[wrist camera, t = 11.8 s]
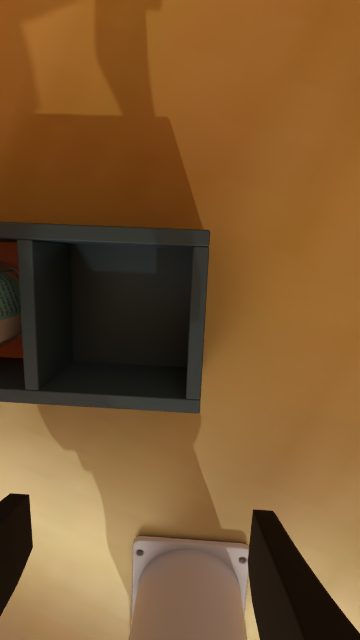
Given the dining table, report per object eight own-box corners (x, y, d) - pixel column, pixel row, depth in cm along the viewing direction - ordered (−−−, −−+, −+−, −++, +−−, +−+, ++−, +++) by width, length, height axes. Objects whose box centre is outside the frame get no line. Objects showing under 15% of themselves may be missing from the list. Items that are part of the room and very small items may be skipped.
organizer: (198, 375, 20) (199, 413, 15) (-53, 361, 21) (-130, 394, 16) (206, 236, 19) (210, 229, 14) (-67, 226, 19) (-157, 215, 14)
